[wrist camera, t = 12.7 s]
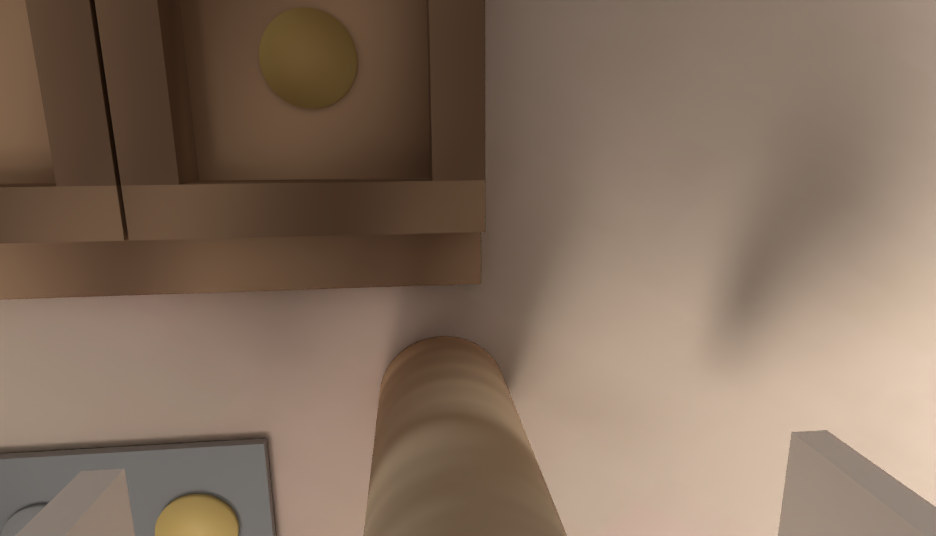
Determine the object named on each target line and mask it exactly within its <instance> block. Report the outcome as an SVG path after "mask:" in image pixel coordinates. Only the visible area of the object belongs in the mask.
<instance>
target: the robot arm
mask: <svg viewBox="0 0 936 536" xmlns="http://www.w3.org/2000/svg"><path fill="white" fill-rule="evenodd" d="M15 536H135V531H134V525H133V518H132V512H131V506H130V500H129V493H128V487H127V481H126V475H125V469H107V470H89V471H81V472H80V473H79V474H78V475H77V476H75V477H74V478H73V479H72V480H71V481H70V482H69V483H68V484H67V485H66V486H65V487H64V488H63V489H62V490H61V491H60V492H59V493H58V494H57V495H56V496H55V497H54V498H53V499H52V500H51V501H50V502H49V503H48V504H47V505H46V506H45V507H44V508H43V509H42V510H41V511H40V512H39V513H38V514H37V515H36V516H35V517H34V518H33V519H32V520H31V521H30V522H29V523H28V524H27V525H26V526H25V527H23V528H22V529H21V530H20V531H19V532H18V533H17V534H16V535H15ZM778 536H936V507H935V506H933V505H932V504H931V503H929V502H928V501H926V500H925V499H923V498H922V497H921V496H919V495H918V494H916V493H915V492H913V491H912V490H911V489H909V488H908V487H906V486H905V485H904V484H902V483H901V482H899V481H898V480H896V479H895V478H894V477H892V476H891V475H889V474H888V473H887V472H885V471H884V470H882V469H881V468H879V467H878V466H877V465H875V464H874V463H872V462H871V461H870V460H868V459H867V458H865V457H864V456H862V455H861V454H860V453H858V452H857V451H855V450H854V449H853V448H851V447H850V446H848V445H847V444H845V443H844V442H843V441H841V440H840V439H838V438H837V437H835V436H834V435H833V434H831V433H830V432H828V431H827V430H822V431H804V432H792V433H791V441H790V448H789V456H788V463H787V471H786V479H785V486H784V494H783V501H782V509H781V516H780V524H779V532H778Z"/></svg>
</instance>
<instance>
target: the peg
mask: <svg viewBox="0 0 936 536" xmlns="http://www.w3.org/2000/svg"><path fill="white" fill-rule="evenodd" d="M364 536H567V535H566V533H565V530H564V528H563V525H562V523H561V520H560V518H559V515H558V513H557V510H556V508H555V505H554V503H553V500H552V498H551V495H550V493H549V490H548V488H547V485H546V483H545V480H544V478H543V475H542V473H541V470H540V468H539V465H538V463H537V460H536V458H535V455H534V453H533V450H532V448H531V445H530V443H529V440H528V438H527V435H526V433H525V430H524V428H523V425H522V423H521V421H520V418H519V416H518V413H517V411H516V408H515V406H514V403H513V401H512V398H511V396H510V393H509V391H508V388H507V386H506V383H505V381H504V378H503V376H502V373H501V371H500V369H499V367H498V365H497V363H496V362H495V361H494V359H493V358H492V357H491V356H490V355H489V354H488V353H487V352H486V351H485V350H484V349H483V348H481V347H480V346H478V345H476V344H475V343H473V342H470V341H468V340H465V339H461V338H457V337H449V336H441V337H432V338H428V339H424V340H422V341H419V342H417V343H415V344H413V345H411V346H409V347H408V348H406V349H405V350H403V351H402V352H401V353H400V354H399V355H398V356H397V357H396V358H395V359H394V360H393V361H392V362H391V364H390V365H389V367H388V368H387V370H386V372H385V374H384V377H383V380H382V383H381V388H380V395H379V404H378V413H377V422H376V431H375V439H374V448H373V457H372V466H371V475H370V484H369V492H368V501H367V510H366V519H365V528H364Z"/></svg>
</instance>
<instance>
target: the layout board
mask: <svg viewBox="0 0 936 536" xmlns="http://www.w3.org/2000/svg"><path fill="white" fill-rule="evenodd" d="M481 232H485V0H0V299H28V298H59V297H89V296H119V295H149V294H180V293H210V292H240V291H270V290H301V289H331V288H361V287H391V286H422V285H452V284H481Z"/></svg>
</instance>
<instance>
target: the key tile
mask: <svg viewBox="0 0 936 536" xmlns="http://www.w3.org/2000/svg"><path fill="white" fill-rule="evenodd" d="M107 469H125V475H126V481H127V487H128V493H129V500H130V506H131V512H132V518H133V525H134V531H135V536H276V531H275V521H274V510H273V500H272V490H271V479H270V469H269V458H268V448H267V438H261V439H244V440H227V441H210V442H193V443H175V444H158V445H141V446H124V447H107V448H90V449H73V450H55V451H38V452H21V453H4V454H0V536H15V535H16V534H17V533H18V532H19V531H20V530H21V529H22V528H23V527H25V526H26V525H27V524H28V523H29V522H30V521H31V520H32V519H33V518H34V517H35V516H36V515H37V514H38V513H39V512H40V511H41V510H42V509H43V508H44V507H45V506H46V505H47V504H48V503H49V502H50V501H51V500H52V499H53V498H54V497H55V496H56V495H57V494H58V493H59V492H60V491H61V490H62V489H63V488H64V487H65V486H66V485H67V484H68V483H69V482H70V481H71V480H72V479H73V478H74V477H75V476H77V475H78V474H79V473H80V472H81V471H89V470H107Z"/></svg>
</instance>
